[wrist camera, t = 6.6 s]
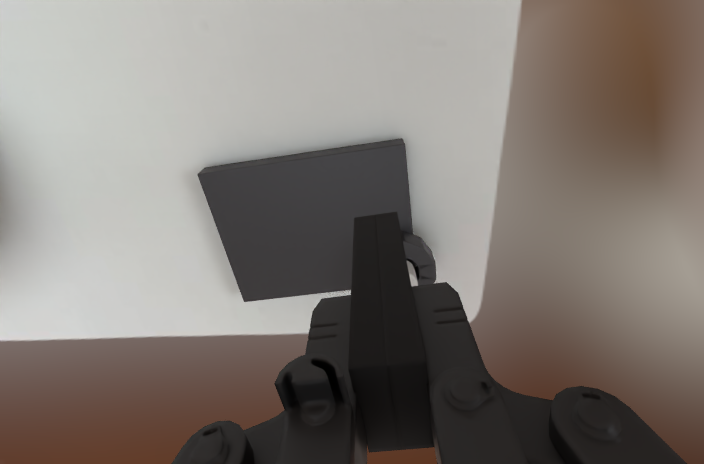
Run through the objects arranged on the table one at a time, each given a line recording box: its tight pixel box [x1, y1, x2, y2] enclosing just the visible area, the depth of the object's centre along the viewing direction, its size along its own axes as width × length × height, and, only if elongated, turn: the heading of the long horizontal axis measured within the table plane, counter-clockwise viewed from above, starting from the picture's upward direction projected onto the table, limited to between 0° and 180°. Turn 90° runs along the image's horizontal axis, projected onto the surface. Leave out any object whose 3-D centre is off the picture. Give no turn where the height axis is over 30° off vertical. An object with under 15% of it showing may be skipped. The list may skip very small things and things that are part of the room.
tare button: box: [407, 261, 418, 286], centre depth 26 cm, size 3×3×2 cm
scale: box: [198, 139, 436, 302], centre depth 27 cm, size 15×12×3 cm
